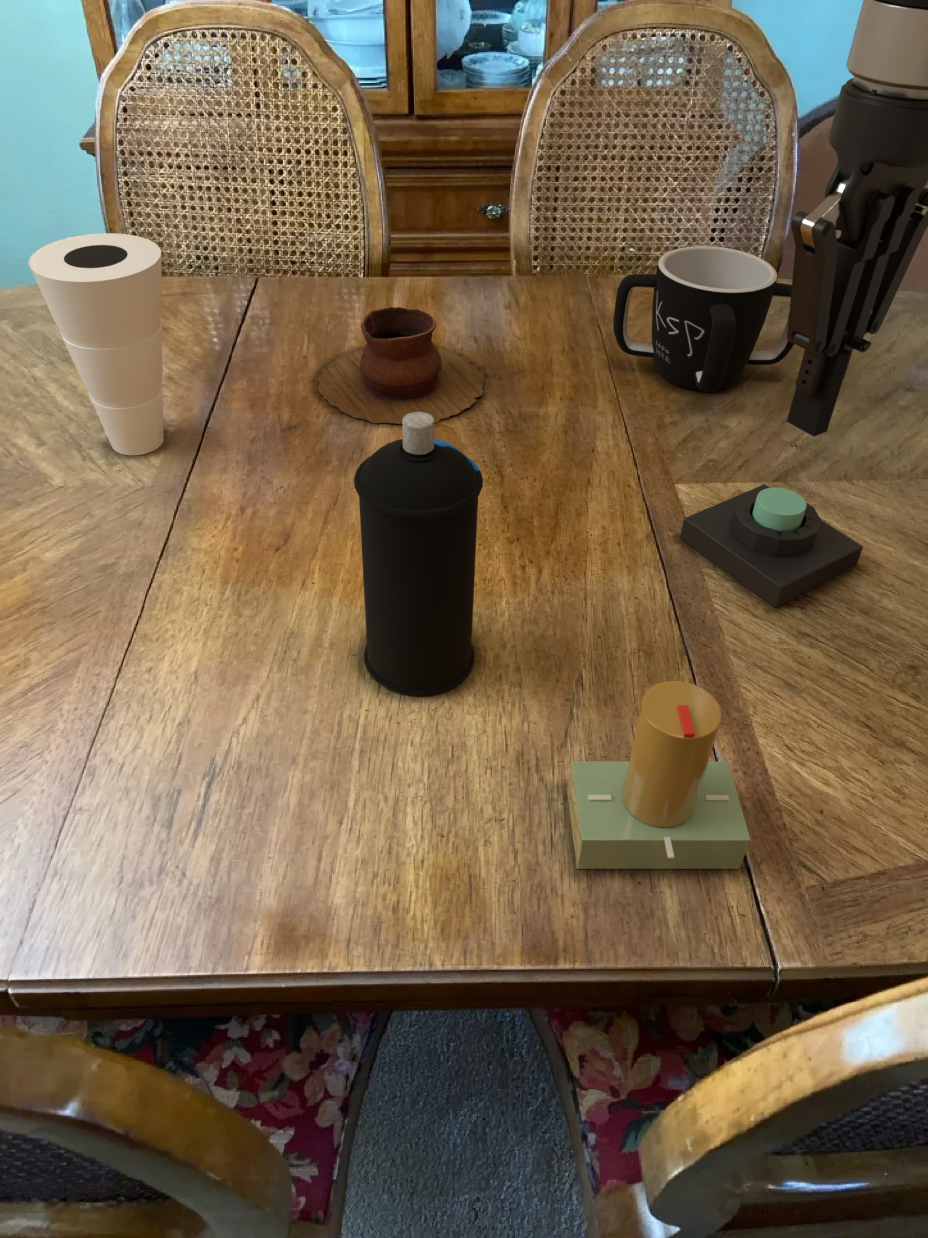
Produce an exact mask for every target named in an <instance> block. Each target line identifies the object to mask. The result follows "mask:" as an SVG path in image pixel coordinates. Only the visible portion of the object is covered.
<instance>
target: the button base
mask: <svg viewBox="0 0 928 1238" xmlns="http://www.w3.org/2000/svg"><path fill="white" fill-rule="evenodd" d="M767 488H771V487H770V486H768V485H767V484H765V483H763V484H761V485H759V486H756V487H755V488H752V489H749V490H747V491H745V492H742V493H740V494H738V495H736V496H733V497H731V498H728V499H726V500H724V501H721V502H719V503H717V504H714V505H712V506H710V507H707V508H705V509H703V510H700V511H698V512H696V513H693V514H691V515H688V516H686V517H684V518H683V522H682V526H681V530H680V534H679V535H680V536H679V539H680V540H681V541H683V542H684V543H686V544H687V545H688V546H690V547H691V549H694V551H696V552H698V553H699V554H700V555H702V556H703V557H704V558H706V559H707V560H708V561H710V562H712V564H714V565H716V566H717V567H718V568H720V569H721V570H722V571H724V572H725V573H727V574H728V575H729V576H731V577H732V578H733V579H735V580H736V581H738V582H739V583H740V584H742V585H743V586H744V587H746V588H747V589H749V590H750V591H751V592H752V593H754V594H755V595H756V596H758V597H760V599H762V600H763V601H764V602H766V603H768V604H769V605H770V606H772V607H773V608H774V609H776V608H778V607H780V606H782V605H784V604H786V603H787V602H789V601H791V600H794V599H795V598H798V597H799V596H802V595H803V594H805V593H808V592H809V591H812V590H813V589H815V588H817V587H819V586H821V585H823V584H825V583H828V582H829V581H831V580H833V579H836V578H837V577H839V576H841V575H843V574H844V573H847V572H849V571H850V570H853V569H855V568H856V567H857V565H858V563H859V560H860V557H861V554H862V552H863V549H864V546H863V545H862V544H861V543H859V542H857V541H855V540H853V539H852V538H851V537H849V536H848V535H846V534H844V533H843V532H842V531H839V529H836V528H835V527H834V526H832V525H830V524H828V523H827V522H826V521H824V520H822V519H821V517H820V515H819V514H818V512H817V510H816V508H815V507H814V506H812V504H810V503H808V502H806V504H807V507H806V511H805V514H804V517H803V520H802V523H801V525H800V527H799V528H798V529H796V530H794V531H778V530H774V529H770V528H767V527H764V526H762V525H761V524H759V523H758V522H756V521H755V520H754V518H753V515H752V514H753V509H754V506H755V502H756V498H757V495H758V493H759V492H760V491H762V490H764V489H767Z"/></svg>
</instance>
